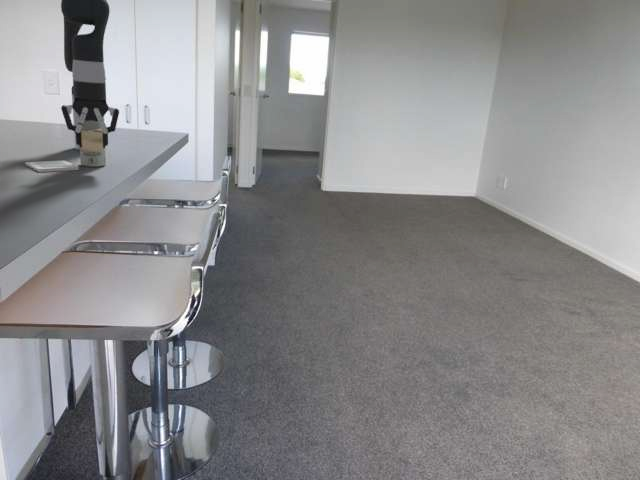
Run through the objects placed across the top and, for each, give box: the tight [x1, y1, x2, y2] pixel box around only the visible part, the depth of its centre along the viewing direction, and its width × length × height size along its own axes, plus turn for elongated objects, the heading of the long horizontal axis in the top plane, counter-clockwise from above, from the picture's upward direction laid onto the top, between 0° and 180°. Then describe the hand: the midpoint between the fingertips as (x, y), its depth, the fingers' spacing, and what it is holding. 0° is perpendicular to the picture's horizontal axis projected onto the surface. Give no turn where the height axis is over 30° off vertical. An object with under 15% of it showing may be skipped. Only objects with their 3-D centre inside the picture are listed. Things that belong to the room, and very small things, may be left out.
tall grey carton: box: [78, 115, 107, 168], centre depth 140 cm, size 7×7×20 cm
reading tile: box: [25, 160, 80, 173], centre depth 135 cm, size 10×10×1 cm
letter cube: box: [81, 129, 103, 152], centre depth 132 cm, size 5×5×5 cm
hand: (92, 146), depth 132 cm, fingers closed on letter cube, 5 cm apart
